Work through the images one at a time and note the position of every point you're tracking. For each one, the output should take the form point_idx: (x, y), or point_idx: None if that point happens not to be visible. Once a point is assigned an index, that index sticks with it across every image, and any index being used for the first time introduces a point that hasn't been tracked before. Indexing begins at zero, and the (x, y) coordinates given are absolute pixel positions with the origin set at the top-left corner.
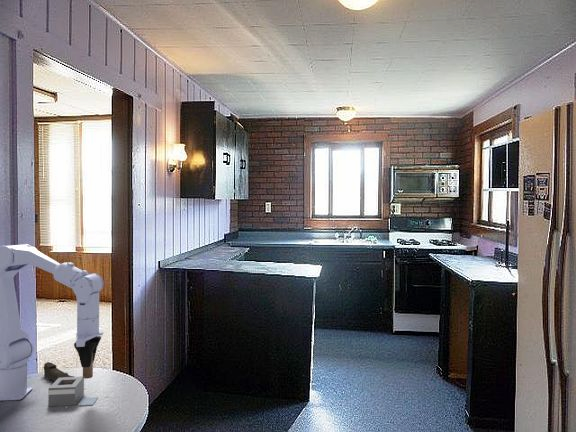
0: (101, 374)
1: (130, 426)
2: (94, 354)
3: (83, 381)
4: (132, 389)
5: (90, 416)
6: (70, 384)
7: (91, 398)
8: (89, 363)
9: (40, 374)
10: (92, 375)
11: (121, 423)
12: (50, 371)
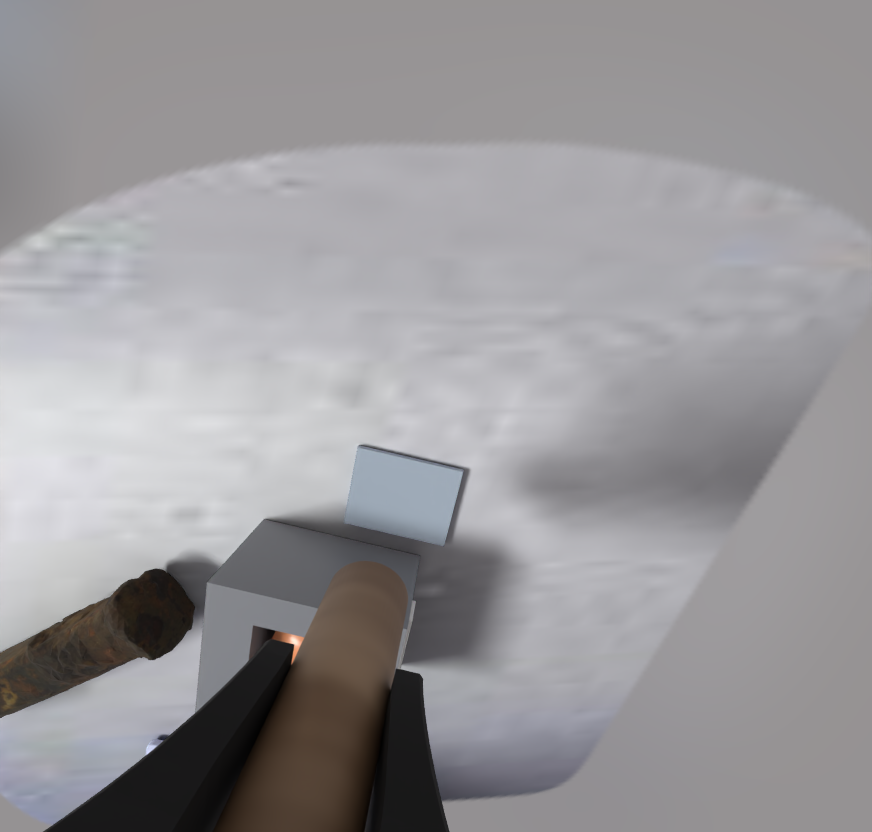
0: None
1: None
2: (238, 726)
3: (234, 565)
4: (267, 223)
5: (615, 478)
6: (280, 636)
7: (369, 480)
8: (422, 714)
9: None
10: (374, 569)
11: (810, 309)
12: None
